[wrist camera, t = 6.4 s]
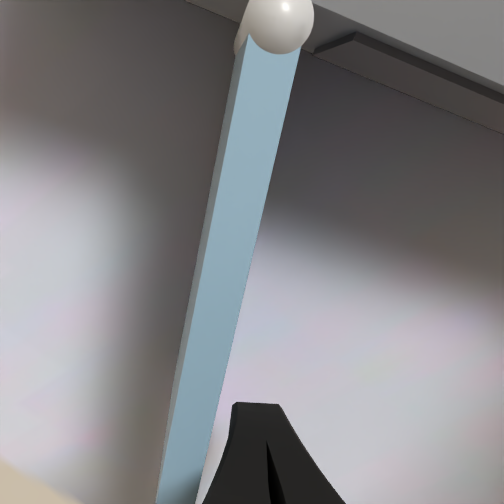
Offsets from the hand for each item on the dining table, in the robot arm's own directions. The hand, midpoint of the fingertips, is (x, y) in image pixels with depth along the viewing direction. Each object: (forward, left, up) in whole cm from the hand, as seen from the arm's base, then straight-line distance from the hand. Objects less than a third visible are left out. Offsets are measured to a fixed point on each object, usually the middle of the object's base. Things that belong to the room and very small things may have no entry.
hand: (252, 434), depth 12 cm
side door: (+2, -4, -3) cm, 6 cm away
